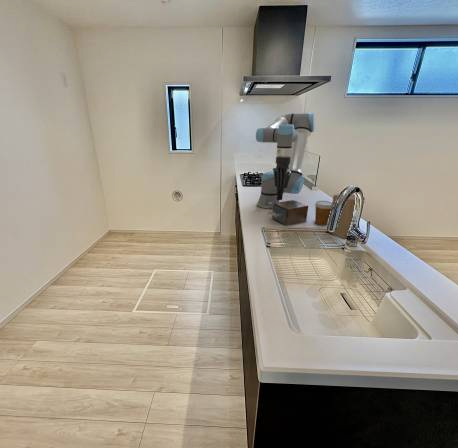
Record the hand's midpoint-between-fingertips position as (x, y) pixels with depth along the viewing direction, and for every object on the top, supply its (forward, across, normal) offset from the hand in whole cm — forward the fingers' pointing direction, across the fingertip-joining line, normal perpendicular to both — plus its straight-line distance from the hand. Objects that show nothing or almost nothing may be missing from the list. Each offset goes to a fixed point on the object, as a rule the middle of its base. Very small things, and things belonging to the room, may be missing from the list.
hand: (279, 199), depth 133 cm
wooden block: (+14, +28, +19) cm, 36 cm away
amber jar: (+14, +13, +21) cm, 28 cm away
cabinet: (+13, +1, +8) cm, 16 cm away
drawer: (+12, +1, +4) cm, 13 cm away
